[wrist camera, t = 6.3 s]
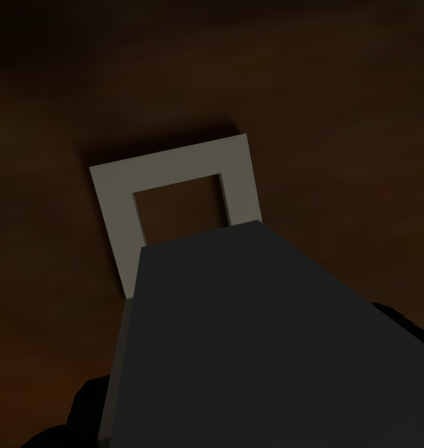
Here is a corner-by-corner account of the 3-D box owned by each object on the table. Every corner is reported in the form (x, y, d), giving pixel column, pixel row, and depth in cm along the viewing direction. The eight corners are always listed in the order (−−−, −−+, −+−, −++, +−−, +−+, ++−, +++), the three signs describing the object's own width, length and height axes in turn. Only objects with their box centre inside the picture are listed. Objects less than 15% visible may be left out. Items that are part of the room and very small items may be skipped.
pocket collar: (92, 166, 28) (89, 167, 27) (241, 134, 30) (246, 133, 28) (131, 305, 31) (130, 313, 30) (266, 271, 32) (271, 277, 31)
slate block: (141, 247, 15) (88, 586, 4) (257, 219, 16) (551, 438, 4) (169, 353, 16) (197, 870, 5) (276, 324, 17) (545, 729, 5)
